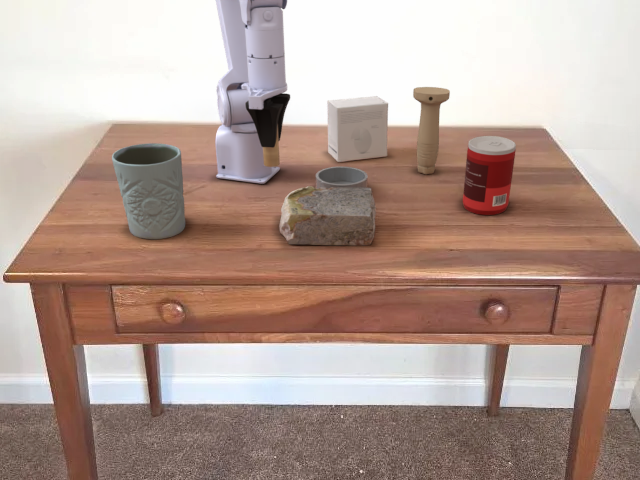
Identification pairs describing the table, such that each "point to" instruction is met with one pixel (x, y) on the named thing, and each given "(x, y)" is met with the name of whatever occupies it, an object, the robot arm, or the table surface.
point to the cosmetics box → (357, 128)
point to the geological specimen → (328, 216)
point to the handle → (429, 126)
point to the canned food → (488, 174)
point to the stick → (272, 154)
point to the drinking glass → (151, 189)
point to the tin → (341, 178)
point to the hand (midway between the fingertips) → (270, 143)
